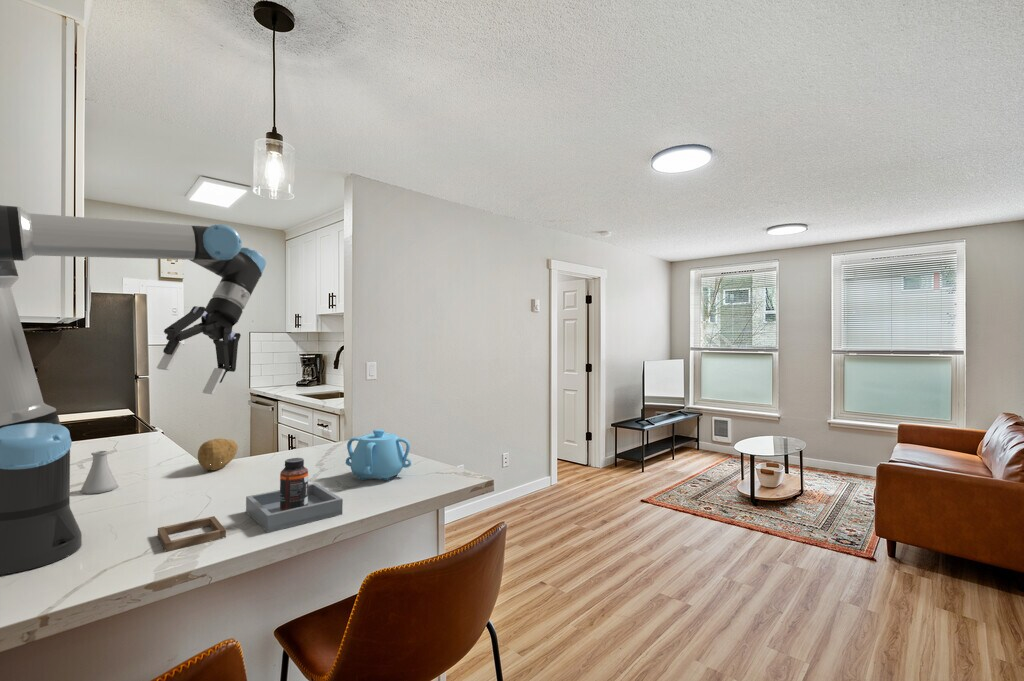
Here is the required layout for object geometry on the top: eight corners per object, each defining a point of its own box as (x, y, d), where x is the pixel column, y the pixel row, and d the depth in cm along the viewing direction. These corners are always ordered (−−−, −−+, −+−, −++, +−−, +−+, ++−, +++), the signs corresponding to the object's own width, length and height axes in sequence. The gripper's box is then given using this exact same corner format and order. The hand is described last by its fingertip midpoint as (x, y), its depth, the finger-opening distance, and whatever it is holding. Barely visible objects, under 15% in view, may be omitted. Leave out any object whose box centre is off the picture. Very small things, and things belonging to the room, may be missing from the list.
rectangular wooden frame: (165, 551, 91) (165, 543, 91) (157, 535, 98) (157, 528, 98) (225, 537, 98) (225, 529, 98) (214, 522, 105) (214, 516, 105)
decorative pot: (342, 473, 144) (342, 428, 144) (393, 465, 154) (393, 422, 154) (359, 487, 131) (360, 437, 131) (415, 478, 140) (415, 431, 140)
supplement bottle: (313, 507, 113) (314, 458, 113) (290, 515, 108) (291, 464, 107) (297, 502, 116) (297, 455, 116) (274, 509, 111) (274, 460, 110)
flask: (124, 486, 129) (125, 449, 129) (99, 495, 122) (99, 455, 121) (100, 485, 129) (100, 448, 129) (73, 494, 122) (73, 454, 122)
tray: (267, 532, 100) (267, 515, 100) (246, 511, 112) (246, 496, 112) (342, 514, 111) (342, 499, 111) (315, 496, 123) (315, 483, 123)
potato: (245, 460, 156) (245, 432, 156) (219, 474, 141) (219, 442, 141) (217, 461, 156) (217, 432, 156) (188, 474, 140) (188, 442, 140)
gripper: (203, 274, 109) (155, 358, 99) (270, 330, 130) (236, 403, 121) (176, 273, 111) (126, 355, 101) (247, 328, 132) (212, 400, 122)
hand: (186, 382), depth 111 cm, fingers open, 13 cm apart
